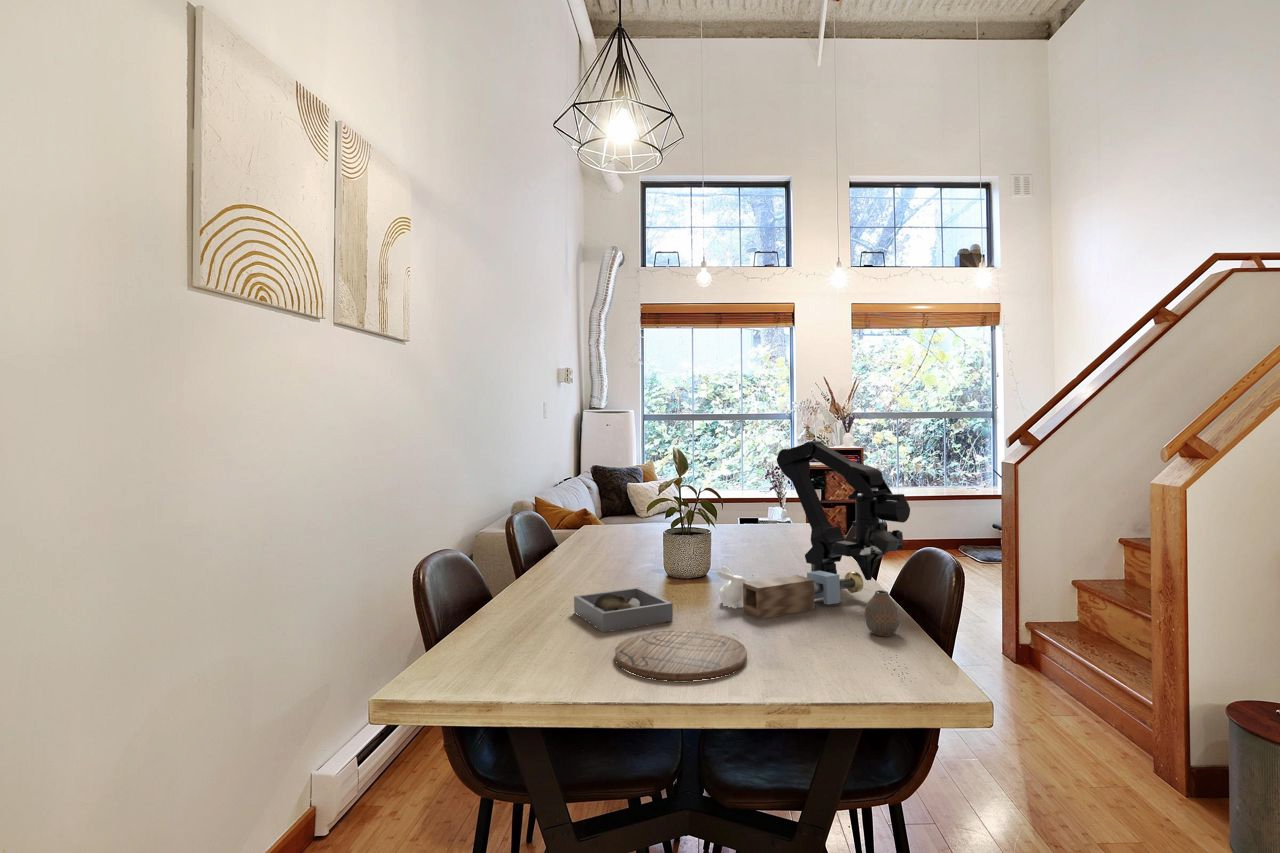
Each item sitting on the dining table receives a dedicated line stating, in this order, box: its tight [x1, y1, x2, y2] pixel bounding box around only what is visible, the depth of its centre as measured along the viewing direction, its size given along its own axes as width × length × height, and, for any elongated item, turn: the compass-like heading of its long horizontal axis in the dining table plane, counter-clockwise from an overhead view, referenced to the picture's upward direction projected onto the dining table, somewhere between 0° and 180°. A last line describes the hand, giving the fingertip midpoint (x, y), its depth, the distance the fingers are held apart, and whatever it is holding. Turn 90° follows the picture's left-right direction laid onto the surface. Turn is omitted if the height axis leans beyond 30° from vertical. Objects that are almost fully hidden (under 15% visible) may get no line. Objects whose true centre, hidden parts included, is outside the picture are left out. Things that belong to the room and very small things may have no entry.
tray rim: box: [573, 587, 674, 633], centre depth 160 cm, size 17×17×4 cm
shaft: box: [814, 571, 864, 594], centre depth 169 cm, size 20×5×5 cm, turn 117°
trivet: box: [614, 629, 748, 681], centre depth 132 cm, size 25×25×2 cm
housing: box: [742, 574, 815, 620], centre depth 163 cm, size 16×6×7 cm, turn 117°
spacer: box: [806, 571, 841, 605], centre depth 169 cm, size 4×7×6 cm, turn 26°
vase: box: [864, 589, 901, 637], centre depth 145 cm, size 7×7×9 cm
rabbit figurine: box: [716, 565, 748, 609], centre depth 168 cm, size 12×8×10 cm, turn 9°
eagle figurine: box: [594, 593, 640, 611], centre depth 156 cm, size 8×7×9 cm
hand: (868, 579), depth 175 cm, fingers closed
